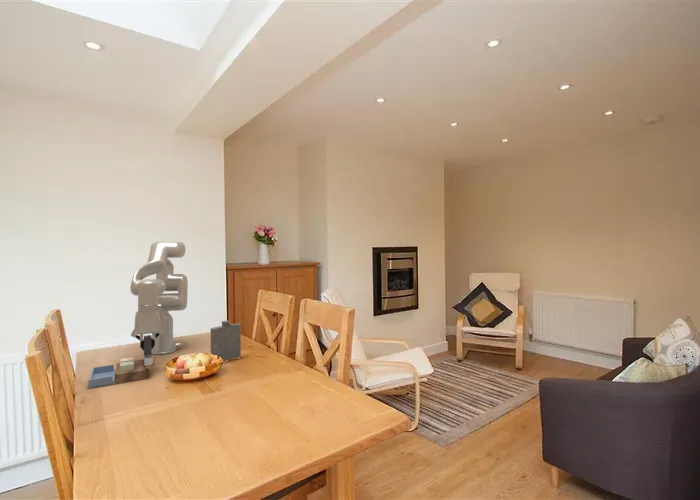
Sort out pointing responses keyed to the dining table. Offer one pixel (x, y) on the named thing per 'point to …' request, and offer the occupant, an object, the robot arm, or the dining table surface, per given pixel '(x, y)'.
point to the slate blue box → (102, 376)
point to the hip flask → (226, 341)
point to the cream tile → (126, 359)
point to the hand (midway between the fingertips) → (147, 348)
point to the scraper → (147, 350)
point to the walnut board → (131, 373)
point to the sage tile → (126, 366)
